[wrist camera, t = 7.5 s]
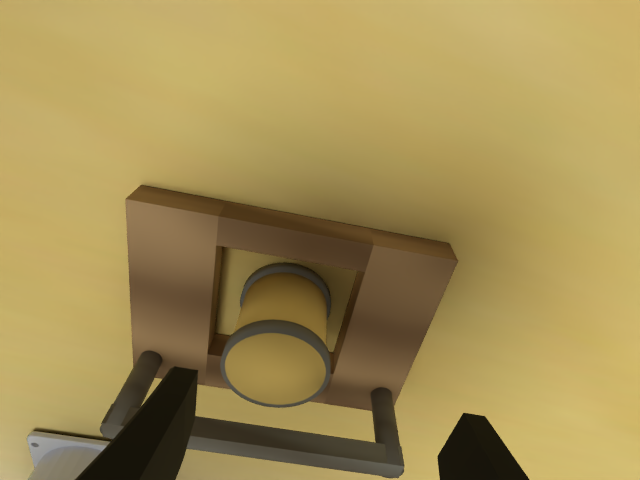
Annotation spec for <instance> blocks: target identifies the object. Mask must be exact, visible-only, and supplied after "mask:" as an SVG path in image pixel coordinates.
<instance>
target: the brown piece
mask: <svg viewBox="0 0 640 480" xmlns="http://www.w3.org/2000/svg"><path fill="white" fill-rule="evenodd" d="M126 220H127V241H128V262H129V283H130V304H131V325H132V346H133V367H134V368H133V369H132V371H131V373H130V375H129V377H128V378H127V380H126V382H125V384H124V386H123V387H122V389H121V391H120V393H119V395H118V396H117V398H116V400H115V402H114V404H112V405H111V407H110V409H109V410H108V412H107V414H106V416H105V418H104V419H103V421H102V423H101V424H102V425H101V427H100V432H101V433H102V434H103V437H107V438H109V439H114V438H115V436H116V435H117V434H118V433H119V432H120V431H121V430H122V428H123V427H124V426H125V425H126V424H127V423H128V422H129V420H130V419H131V418H132V417H133V416H134V415H135V414H136V412H137V411H138V410H139V409H140V407H141V405H142V403H143V401H144V399H145V397H146V395H147V392H148V390H149V388H150V386H151V384H152V382H153V380H154V378H160V379H163V378H164V377H165V375H166V374H167V372H168V371H169V370H170V368H172V367H174V366H176V367H182V368H188V369H195V370H198V381H197V384H200V385H206V386H213V387H219V388H226V389H231V388H230V387H229V386H228V385H227V384H226V382H225V381H224V378H223V376H222V373H221V368H220V362H221V357H222V354H223V351H224V348H225V345H226V343H227V341H228V339H229V338H230V336H226V335H220V334H215V326H216V315H217V304H218V293H219V282H220V271H221V260H222V249H223V247H229V248H234V249H240V250H245V251H251V252H256V253H262V254H267V255H273V256H278V257H284V258H290V259H295V260H301V261H306V262H312V263H317V264H323V265H328V266H334V267H339V268H345V269H351V270H356V271H358V272H357V276H356V279H355V282H354V286H353V289H352V293H351V296H350V299H349V303H348V306H347V309H346V313H345V316H344V319H343V323H342V326H341V329H340V333H339V336H338V340H337V343H336V346H335V350H334V353H330V352H329V354H330V361H331V368H330V379H329V382H328V384H327V386H326V387H325V389H324V390H323V391H322V392H321V393H320V394H319V395H318V396H317V397H315V398H314V399H312V400H310V401H311V402H317V403H324V404H330V405H337V406H343V407H350V408H356V409H363V410H370V411H372V413H373V422H374V432H375V442H376V443H374V442H367V441H361V440H354V439H347V438H340V437H333V436H327V435H320V434H313V433H306V432H299V431H293V430H286V429H279V428H272V427H265V426H258V425H252V424H245V423H238V422H231V421H224V420H218V419H211V418H204V417H197V416H195V421H194V424H193V428H192V431H191V435H190V438H189V442H188V445H187V448H186V449H193V450H201V451H208V452H215V453H222V454H229V455H236V456H243V457H250V458H258V459H265V460H272V461H279V462H286V463H293V464H300V465H307V466H314V467H322V468H329V469H336V470H343V471H350V472H357V473H364V474H371V475H379V476H383V477H385V478H399V476H401V475H402V474H403V472H404V461H403V454H402V448H401V446H400V443H399V436H398V430H397V424H396V418H395V411H394V405H395V403H396V400H397V398H398V396H399V394H400V391H401V389H402V387H403V385H404V382H405V380H406V378H407V376H408V373H409V371H410V369H411V366H412V364H413V362H414V360H415V357H416V355H417V353H418V351H419V348H420V346H421V344H422V342H423V339H424V337H425V335H426V333H427V330H428V328H429V326H430V324H431V321H432V319H433V317H434V314H435V312H436V310H437V308H438V305H439V303H440V301H441V299H442V296H443V294H444V292H445V290H446V287H447V285H448V283H449V281H450V278H451V276H452V274H453V272H454V269H455V267H456V265H457V263H458V260H457V258H456V256H455V254H454V252H453V250H452V248H451V246H450V244H449V243H444V242H439V241H434V240H428V239H423V238H418V237H413V236H407V235H402V234H397V233H391V232H386V231H381V230H375V229H370V228H365V227H360V226H354V225H349V224H344V223H338V222H333V221H328V220H323V219H317V218H312V217H307V216H301V215H296V214H291V213H286V212H280V211H275V210H270V209H264V208H259V207H254V206H249V205H243V204H238V203H233V202H227V201H222V200H217V199H212V198H206V197H201V196H196V195H190V194H185V193H180V192H175V191H169V190H164V189H159V188H153V187H148V186H143V185H141V186H139V187H138V188H137V189H136V190H135V191H134V192H133V193H132V194H131V195H129V196H128V197H127V198H126Z"/></svg>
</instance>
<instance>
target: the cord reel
mask: <svg viewBox="0 0 640 480" xmlns="http://www.w3.org/2000/svg"><path fill="white" fill-rule="evenodd" d="M240 306H241V311H240V314H239V318H238V321H237V324H236V327H235V331H234V333H233V334H232V335H231V336H230V338H229V339H228V341H227V343H226V345H225V348H224V351H223V354H222V357H221V362H220V368H221V373H222V376H223V378H224V381H225V382H226V384H227V385H228V386H229V387H230V388H231V389H232V390H233V391H234V392H235V393H236V394H237V395H239V396H240V397H242V398H244V399H246V400H248V401H250V402H252V403H255V404H258V405H262V406H267V407H278V408H280V407H292V406H297V405H301V404H304V403H306V402H308V401H310V400H312V399H314V398H315V397H317V396H318V395H319V394H320V393H321V392H322V391H323V390H324V389H325V387H326V386H327V384H328V382H329V379H330V368H331V361H330V354H329V351H328V348H327V346H326V329H327V319H328V317H329V314H330V308H331V299H330V292H329V289H328V287H327V285H326V283H325V282H324V280H323V279H322V278H321V277H320V276H319V275H318V274H317V273H315V272H314V271H312V270H311V269H309V268H307V267H304V266H302V265H298V264H294V263H274V264H270V265H266V266H264V267H262V268H260V269H258V270H257V271H255V272H254V273H253V274H252V275H251V276H250V277H249V278H248V280H247V281H246V283H245V285H244V288H243V291H242V294H241V300H240Z"/></svg>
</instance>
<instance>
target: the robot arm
mask: <svg viewBox="0 0 640 480" xmlns="http://www.w3.org/2000/svg"><path fill="white" fill-rule="evenodd" d="M197 381H198V370H195V369H188V368H182V367H176V366H174V367H172V368H170V370H169V371H168V372H167V374H166V375H165V377H164V378H163V379H162V381H161V382H160V383H159V385H158V386H157V387H156V389H155V390H154V391H153V393H152V394H151V395H150V396H149V398H148V399H147V400H146V401H145V403H144V404H143V405H142V406H141V407H140V409H139V410H138V411H137V412H136V414H135V415H134V416H133V417H132V418H131V419H130V420H129V422H128V423H127V424H126V425H125V426H124V427H123V428H122V430H121V431H120V432H119V433H118V434H117V435H116V436H115V438H114V439H113V440H112V441H111V442H109V441H102V440H95V439H88V438H81V437H74V436H66V435H59V434H52V433H45V432H38V431H33V432H31V433H30V434H29V435H28V437H27V442H28V445H29V449H30V453H31V456H32V460H33V464H34V468H35V469H34V470H33V472H32V473H31V475H30V477H29V478H28V480H175V479H176V477H177V474H178V472H179V469H180V466H181V464H182V461H183V458H184V455H185V452H186V448H187V445H188V442H189V438H190V435H191V431H192V428H193V424H194V421H195V410H196V395H197ZM438 466H439V475H440V480H529V478H528V477H527V476H526V474H525V473H524V471H523V470H522V468H521V467H520V466H519V464H518V463H517V461H516V460H515V458H514V457H513V456H512V454H511V453H510V451H509V450H508V448H507V447H506V446H505V444H504V443H503V441H502V440H501V438H500V437H499V435H498V434H497V433H496V431H495V430H494V428H493V427H492V425H491V424H490V423H489V421H488V420H487V418H486V417H485V416H480V415H474V414H468V413H463V414H462V416H461V418H460V420H459V421H458V423H457V425H456V426H455V428H454V430H453V431H452V433H451V435H450V436H449V438H448V440H447V441H446V443H445V445H444V446H443V448H442V450H441V451H440V453H439V455H438Z"/></svg>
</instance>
